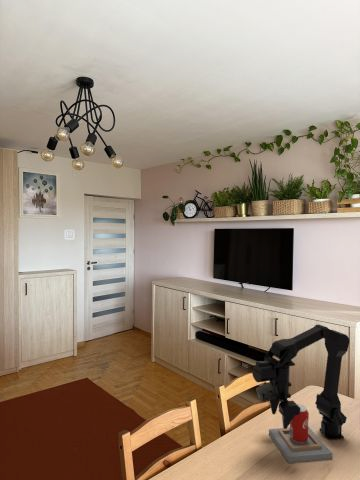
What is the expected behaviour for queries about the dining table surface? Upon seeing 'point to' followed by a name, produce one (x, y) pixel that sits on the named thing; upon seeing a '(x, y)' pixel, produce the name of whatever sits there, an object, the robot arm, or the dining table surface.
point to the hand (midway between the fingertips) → (279, 421)
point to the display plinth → (300, 446)
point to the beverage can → (300, 426)
